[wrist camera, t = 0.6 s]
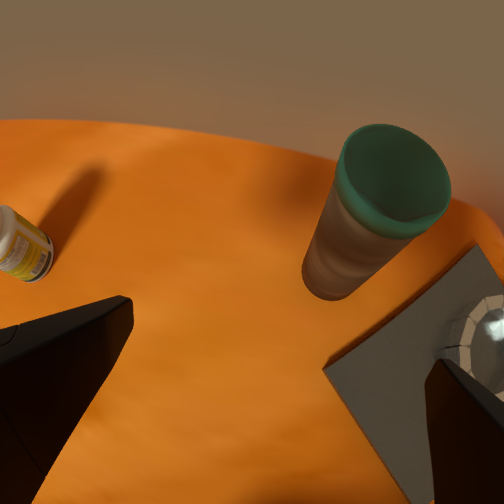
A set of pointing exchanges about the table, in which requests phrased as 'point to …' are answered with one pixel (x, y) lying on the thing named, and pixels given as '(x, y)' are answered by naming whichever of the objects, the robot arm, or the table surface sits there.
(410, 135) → the travel tumbler
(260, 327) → the table surface
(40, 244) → the supplement bottle
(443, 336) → the hub
